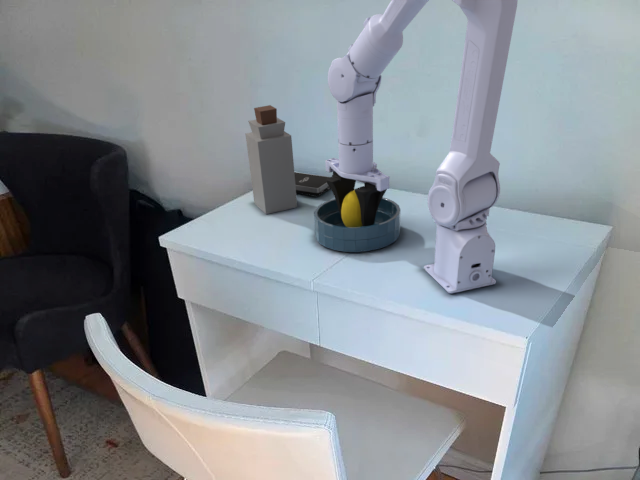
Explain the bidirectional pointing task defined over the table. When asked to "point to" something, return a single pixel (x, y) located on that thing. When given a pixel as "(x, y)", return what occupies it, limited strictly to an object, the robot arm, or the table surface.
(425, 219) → the table surface
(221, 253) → the table surface
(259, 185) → the perfume bottle
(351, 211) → the lemon
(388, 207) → the bowl
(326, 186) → the external hard drive
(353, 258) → the table surface
